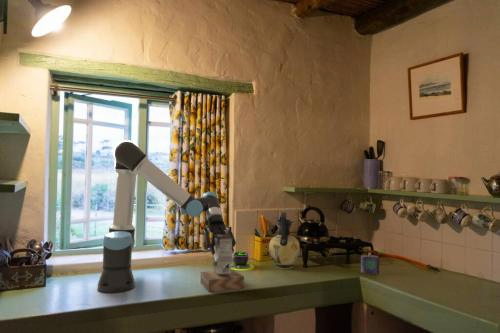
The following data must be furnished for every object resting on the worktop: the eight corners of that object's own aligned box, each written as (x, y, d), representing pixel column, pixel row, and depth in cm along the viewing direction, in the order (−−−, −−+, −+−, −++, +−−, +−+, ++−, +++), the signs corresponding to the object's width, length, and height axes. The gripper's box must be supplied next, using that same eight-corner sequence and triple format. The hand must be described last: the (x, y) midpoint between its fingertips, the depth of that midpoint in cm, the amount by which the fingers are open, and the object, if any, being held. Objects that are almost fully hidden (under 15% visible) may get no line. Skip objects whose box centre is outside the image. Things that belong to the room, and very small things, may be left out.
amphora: (267, 263, 204) (267, 211, 205) (296, 263, 205) (296, 211, 206) (270, 271, 186) (271, 213, 188) (302, 271, 187) (302, 214, 188)
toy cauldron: (236, 263, 204) (237, 243, 205) (259, 266, 196) (259, 246, 197) (221, 268, 191) (221, 247, 192) (244, 272, 184) (245, 250, 184)
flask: (361, 273, 185) (361, 252, 185) (360, 272, 188) (360, 251, 188) (379, 274, 183) (379, 253, 184) (378, 273, 186) (378, 252, 186)
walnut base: (208, 292, 149) (208, 280, 150) (200, 283, 162) (200, 272, 163) (243, 288, 155) (244, 276, 156) (233, 279, 168) (233, 269, 169)
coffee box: (212, 269, 162) (213, 234, 163) (225, 268, 165) (226, 233, 165) (217, 274, 154) (218, 237, 154) (231, 273, 156) (232, 236, 157)
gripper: (231, 223, 178) (242, 262, 162) (193, 224, 171) (201, 265, 155) (235, 213, 173) (247, 253, 157) (196, 214, 166) (204, 256, 150)
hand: (224, 259), depth 156 cm, fingers closed on coffee box, 6 cm apart
